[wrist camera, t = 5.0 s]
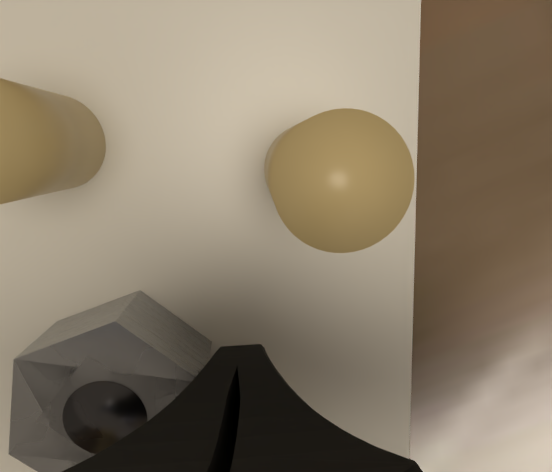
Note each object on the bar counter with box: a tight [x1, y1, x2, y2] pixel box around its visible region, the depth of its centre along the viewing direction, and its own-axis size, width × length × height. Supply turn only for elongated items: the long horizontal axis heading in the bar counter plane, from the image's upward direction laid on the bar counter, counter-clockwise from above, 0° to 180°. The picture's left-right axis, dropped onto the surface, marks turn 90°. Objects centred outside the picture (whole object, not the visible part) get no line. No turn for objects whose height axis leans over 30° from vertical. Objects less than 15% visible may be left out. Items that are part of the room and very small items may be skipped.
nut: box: [8, 290, 212, 472], centre depth 11 cm, size 4×5×2 cm
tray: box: [0, 0, 421, 472], centre depth 10 cm, size 18×20×6 cm
